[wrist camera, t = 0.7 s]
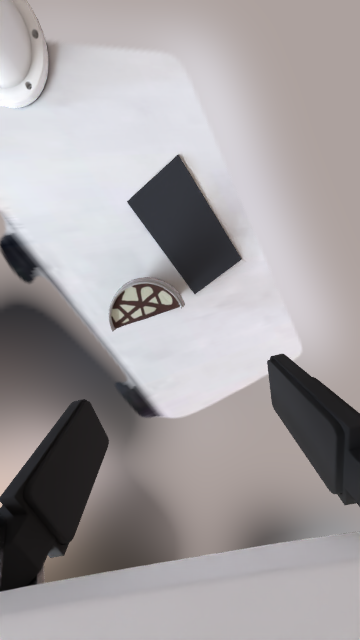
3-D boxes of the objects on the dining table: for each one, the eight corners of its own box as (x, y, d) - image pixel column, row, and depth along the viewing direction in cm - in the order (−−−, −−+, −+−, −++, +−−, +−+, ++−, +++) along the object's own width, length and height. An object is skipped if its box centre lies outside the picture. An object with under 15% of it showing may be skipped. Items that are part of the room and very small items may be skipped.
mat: (127, 202, 30) (127, 201, 30) (178, 155, 29) (178, 154, 28) (194, 293, 35) (194, 294, 35) (241, 259, 34) (241, 259, 33)
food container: (172, 265, 34) (171, 265, 24) (183, 295, 35) (185, 307, 26) (113, 286, 35) (90, 295, 25) (126, 315, 36) (109, 332, 27)
